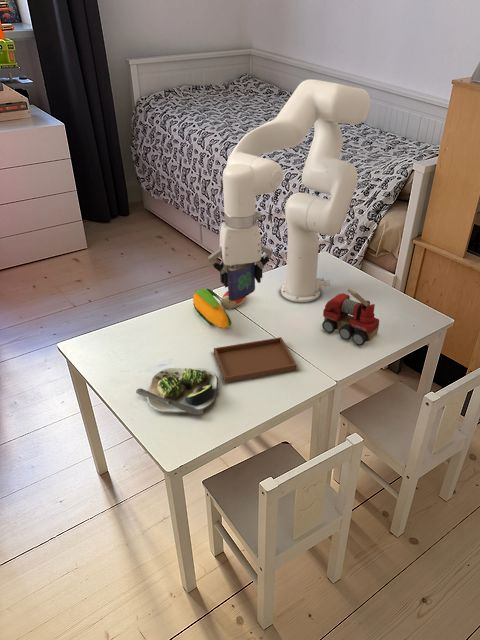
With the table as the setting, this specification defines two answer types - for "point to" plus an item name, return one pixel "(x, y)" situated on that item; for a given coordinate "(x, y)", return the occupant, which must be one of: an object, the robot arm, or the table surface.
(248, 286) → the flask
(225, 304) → the ladybug figurine
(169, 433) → the table surface
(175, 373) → the avocado toast plate
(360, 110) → the robot arm
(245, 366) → the tray
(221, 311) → the corn
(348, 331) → the toy fire truck
